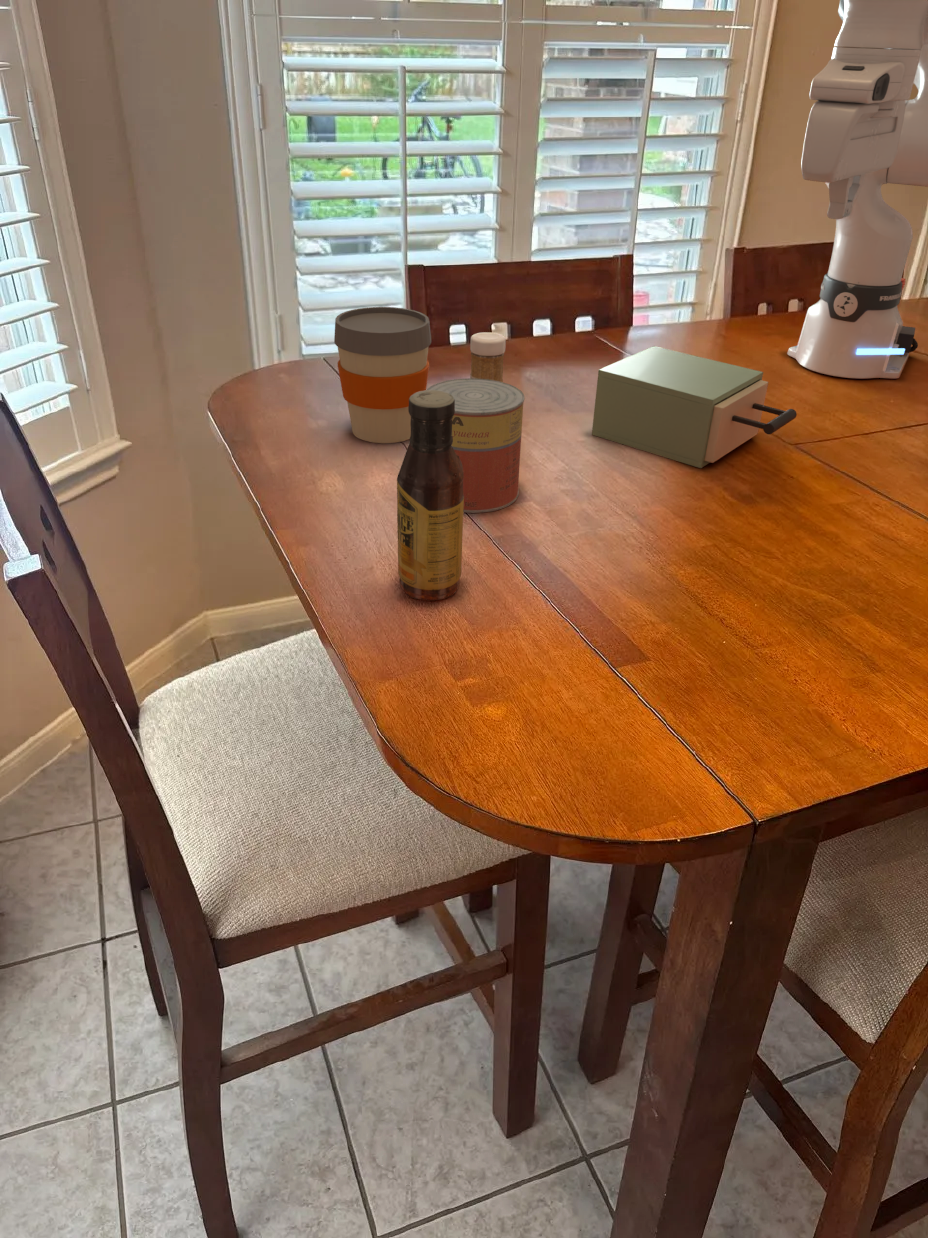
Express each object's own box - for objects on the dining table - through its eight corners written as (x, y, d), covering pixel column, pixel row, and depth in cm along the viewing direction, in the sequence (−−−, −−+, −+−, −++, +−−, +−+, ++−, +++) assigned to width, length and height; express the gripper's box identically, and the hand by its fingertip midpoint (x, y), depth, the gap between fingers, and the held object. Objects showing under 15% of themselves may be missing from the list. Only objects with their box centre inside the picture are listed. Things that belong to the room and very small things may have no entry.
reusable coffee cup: (450, 431, 126) (451, 320, 117) (382, 456, 118) (379, 339, 110) (387, 407, 133) (385, 301, 125) (320, 429, 125) (312, 318, 117)
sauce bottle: (397, 572, 94) (394, 382, 83) (458, 571, 94) (463, 382, 83) (399, 607, 88) (395, 408, 77) (464, 605, 89) (469, 408, 78)
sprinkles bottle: (507, 437, 124) (513, 338, 117) (479, 444, 122) (483, 343, 115) (488, 426, 127) (492, 329, 120) (461, 432, 125) (463, 333, 118)
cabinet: (750, 436, 127) (763, 371, 122) (700, 468, 117) (713, 399, 112) (645, 407, 135) (654, 345, 130) (591, 434, 126) (598, 369, 121)
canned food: (411, 480, 112) (410, 384, 106) (494, 466, 116) (498, 373, 109) (445, 519, 104) (447, 418, 97) (534, 504, 107) (541, 405, 101)
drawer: (797, 444, 122) (810, 391, 118) (754, 475, 113) (766, 419, 109) (658, 406, 133) (665, 356, 129) (608, 431, 125) (614, 379, 121)
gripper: (874, 75, 107) (844, 203, 115) (805, 80, 94) (776, 224, 102) (929, 78, 104) (895, 210, 112) (866, 83, 91) (832, 232, 98)
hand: (838, 217), depth 107 cm, fingers closed
